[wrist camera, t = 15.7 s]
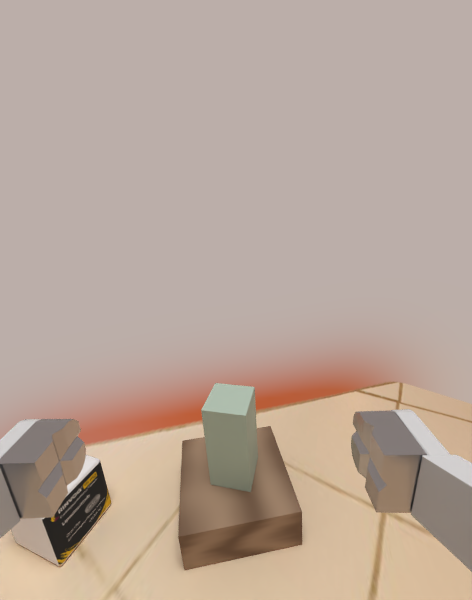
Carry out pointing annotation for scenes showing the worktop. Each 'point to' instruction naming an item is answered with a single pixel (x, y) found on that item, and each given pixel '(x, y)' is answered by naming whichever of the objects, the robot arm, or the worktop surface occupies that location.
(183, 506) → the walnut block
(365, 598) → the worktop surface
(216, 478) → the sage block
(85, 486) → the medicine bottle
